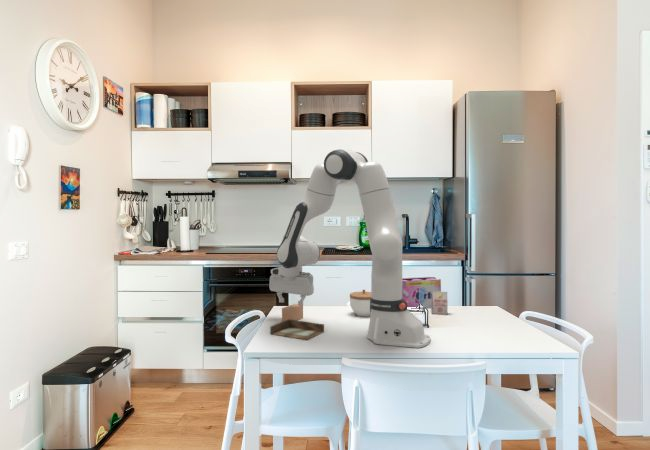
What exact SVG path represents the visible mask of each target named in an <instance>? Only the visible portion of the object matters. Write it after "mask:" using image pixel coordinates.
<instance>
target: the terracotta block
mask: <svg viewBox="0 0 650 450" xmlns="http://www.w3.org/2000/svg"><path fill="white" fill-rule="evenodd" d="M288 319H290V320H297V321H301V320H303V319H304V304H303V305H302V306H300V305H298V303H292V304H291V305H287V306H285V307H282V308H281V322H283V321H286V320H288Z"/></svg>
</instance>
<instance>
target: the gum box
mask: <svg viewBox="0 0 650 450" xmlns="http://www.w3.org/2000/svg"><path fill="white" fill-rule="evenodd" d="M441 282H442V280H441V279H440V278H437V277H434V276H431V277H430V276H427V277H426V276H425V277H411V278H410V277H408V278H407V277H404V278H403V277H402V298H403V299H404V300H405V301H406V302H407V301H408V307H416V308H417V307H418V306H419V304H422V305H424V306H425V307H427V308H426V309H429V308H431V296H432V291H439V292H442V283H441Z"/></svg>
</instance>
